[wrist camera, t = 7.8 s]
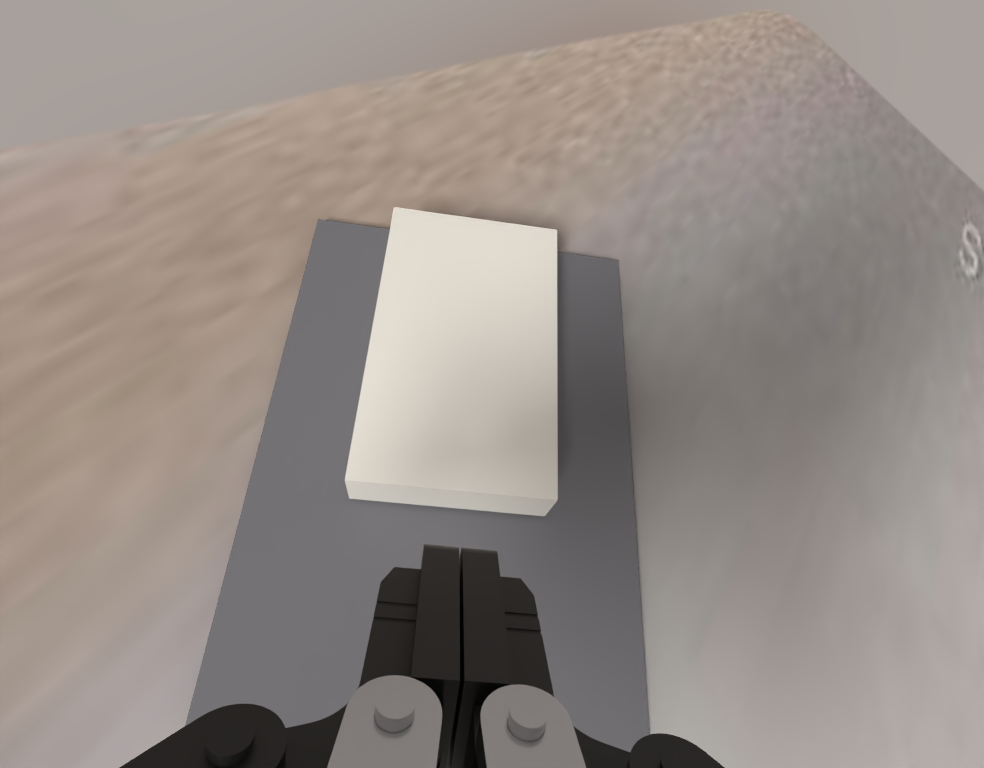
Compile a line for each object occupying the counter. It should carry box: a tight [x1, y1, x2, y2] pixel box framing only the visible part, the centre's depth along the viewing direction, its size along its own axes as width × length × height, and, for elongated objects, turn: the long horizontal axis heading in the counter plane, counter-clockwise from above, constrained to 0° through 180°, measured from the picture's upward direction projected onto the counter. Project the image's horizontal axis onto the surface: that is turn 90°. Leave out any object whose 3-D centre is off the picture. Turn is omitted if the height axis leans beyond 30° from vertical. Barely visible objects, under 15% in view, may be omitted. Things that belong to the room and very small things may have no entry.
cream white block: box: [345, 207, 558, 516], centre depth 23 cm, size 2×7×12 cm
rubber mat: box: [185, 219, 650, 752], centre depth 23 cm, size 20×14×1 cm
